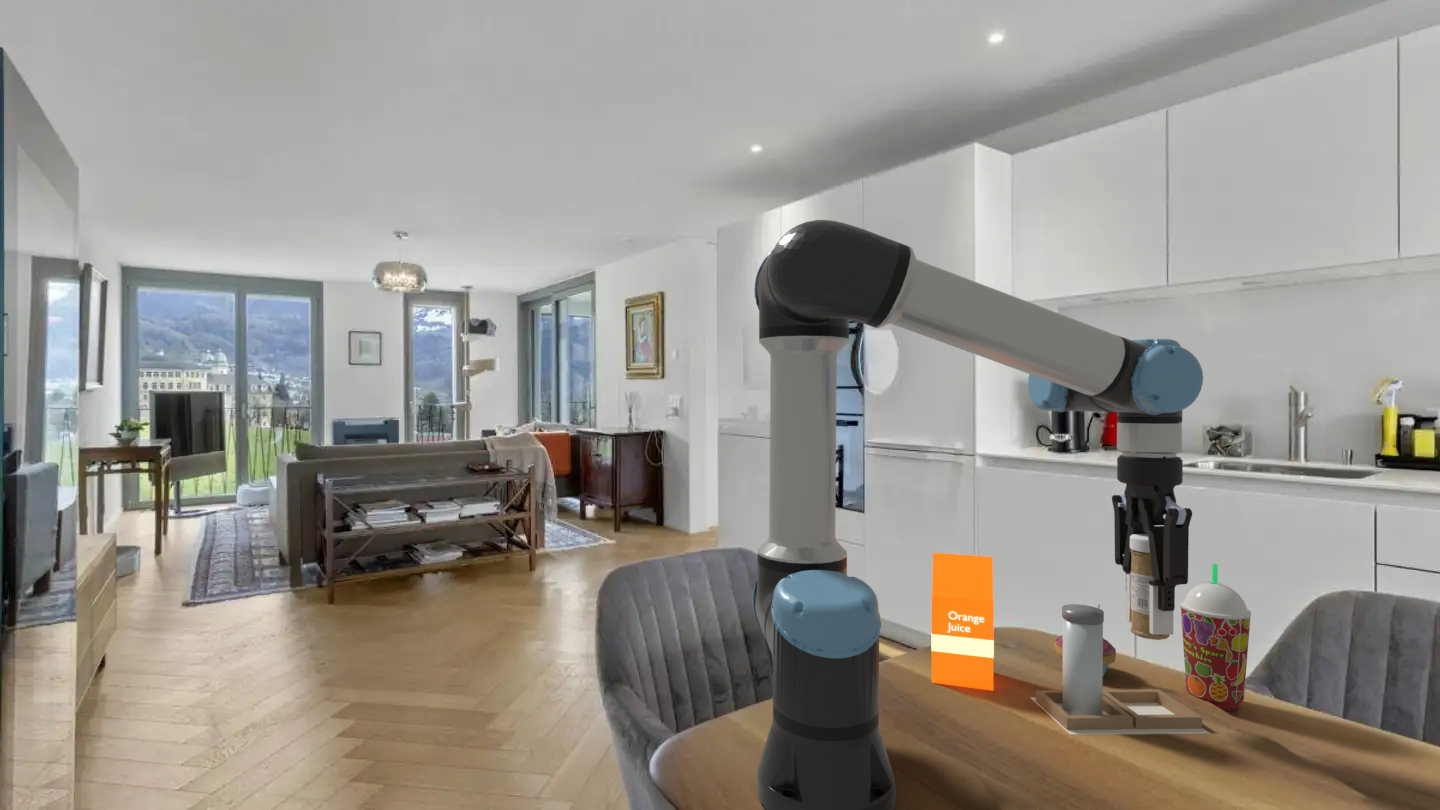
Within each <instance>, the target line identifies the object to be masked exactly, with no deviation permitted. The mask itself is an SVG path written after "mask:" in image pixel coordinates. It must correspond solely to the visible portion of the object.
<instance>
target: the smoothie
mask: <svg viewBox="0 0 1440 810" xmlns="http://www.w3.org/2000/svg"><path fill="white" fill-rule="evenodd" d="M1211 566H1212V567H1211V582H1202V583H1199V584H1197V585H1195V586H1193V587H1192V588H1190V589H1189V590H1188V591H1187V592H1186V595H1185V596H1184V599H1183V600H1181V601H1180V602H1179V606H1180V612H1181V615H1180V616H1181V630H1182V631H1181V632H1182V641H1183V642H1182V643H1183V661H1184V672H1185V690H1186V691H1187V692H1189V693H1190V694H1191V695H1193V696H1195V697H1196V698H1200V699H1202V700H1205V701H1207V702H1208V703H1210V704H1211V705H1213V706H1215V707H1217V708H1218V709H1220V710H1222V711H1223V710H1225V712H1227V711H1230V710H1231V711H1234V710H1238V709H1239V707H1240V703H1242V702H1243V701H1244V700H1245V690H1246V689H1245V688H1246V675H1247V665H1248V663H1247V662H1248V650H1249V640H1250V627H1251V617H1252V611H1250V610H1249V609H1248V608H1247V605H1246V603H1245V601H1244V599H1243V597H1241V596H1240V594H1239V593H1238V592H1237V591H1235V590H1234V589H1232V588H1231V587H1229V586H1228V585H1226V584H1223V583H1219V582H1218V580H1219V579H1218V578H1219V577H1218V571H1219V569H1218V567H1219V565H1218V564H1217V563H1212V564H1211Z"/></svg>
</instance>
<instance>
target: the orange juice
mask: <svg viewBox="0 0 1440 810" xmlns="http://www.w3.org/2000/svg"><path fill="white" fill-rule="evenodd" d="M932 556H933V557H932V577H931V579H932V584H931V634H930V636H931V638H930V640H931V642H930V643H931V644H930V645H931V648H930V649H931V684H932V683H933V684H939V685H947V686H954V687H962V688H963V687H964V688H969V689H977V690H978V689H979V690H984V691H992V692H993V691H994V658H995V653H994V652H995V640H994V639H995V638H994V635H995V633H994V632H995V631H994V630H995V627H994V626H995V625H994V624H995V623H994V621H995V617H994V616H995V614H994V613H995V612H994V611H995V610H994V608H995V607H994V606H995V605H994V604H995V602H994V601H995V600H994V576H993V575H994V569H993V568H994V567H993V565H994V564H993V556H985V555H983V556H982V555H972V554H971V555H970V554H958V553H957V554H956V553H943V552H941V553H940V552H933V553H932Z"/></svg>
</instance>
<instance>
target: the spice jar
mask: <svg viewBox="0 0 1440 810" xmlns="http://www.w3.org/2000/svg"><path fill="white" fill-rule="evenodd" d="M1130 549H1131V610H1132V622H1131V627H1130V632H1131V633H1132V634H1133V635H1135V636H1137V637H1139V638H1142V639H1147V640H1155V641H1161V640H1167V639H1169V637H1170V635H1171V634H1163V635H1153V634H1151V633H1149V581H1154V576H1153V569H1152V562H1151V554H1150V547H1149V540H1148V534H1133V535H1131V536H1130Z"/></svg>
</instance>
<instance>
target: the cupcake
mask: <svg viewBox="0 0 1440 810" xmlns="http://www.w3.org/2000/svg"><path fill="white" fill-rule="evenodd" d="M1100 606H1101V604H1098V605H1097V608H1099V609H1100V608H1101V607H1100ZM1053 647H1054V651H1055V652H1056V654H1057V655H1058V656H1059V657H1061V659H1062V660H1063V634H1062V635H1059V636H1058V637H1057V638H1056V639H1055V642H1054V646H1053ZM1116 652H1117V651H1116V647H1114V646H1113V644H1111V642H1109V640H1107V639H1105V638H1104V637H1103V677H1104V676H1105V675H1106V672H1107V669H1108V668H1109V665H1111V664H1113V663H1115V661H1116V659H1117V658H1116V655H1117V653H1116Z"/></svg>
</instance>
